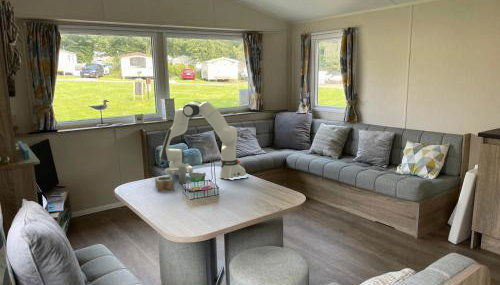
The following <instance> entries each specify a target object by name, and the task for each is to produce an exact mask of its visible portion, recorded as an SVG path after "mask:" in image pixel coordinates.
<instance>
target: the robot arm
mask: <svg viewBox="0 0 500 285" xmlns="http://www.w3.org/2000/svg"><path fill="white" fill-rule="evenodd" d="M199 115H201V116H202V117H204V119H205V120H206V121H207V122H208V124H209V125H210V126H211V127H212V128H213V130H214V131H215V133H216V135H217V136H218V138H219V140H220V142H221V149H220V150H221V152H220V155H221V156H220V172H219V176H220V177H221V178H233V177H239V176H244V175H246V174H247V173H246V169H245V168H244V167H243V166H242V165H240V164H241V160H239V159H237V140H238V130H237V128H236V127H235V126H233V125H229V123H228V122H227V121H226V119H225V117H224V115H222V113H220V112H219V110H218V109H217V108H216V107H215V106H214V105H213V104H212V103H211V102H209V101H203V102H202V103H201V102H200V101H198V100H195V101H190V102H187V103H186V104H184V106H183V107H182V108H178V109H177V110H176V111H175V115H174V118H173V124H172V125H171V127H170V128H168V130H167V131H166V134H165V137H164V140H163V143H162V147H161V149H160V151H159V158H160V160H161V161H162V162H169V163H168V164H169V165H168V166H169V167H166V168H165V169H164V170H163V171H164V172H165V174H166V175H168V176H169V175H178V176H179V166H185V167H186V174H189V173H190V171H191V173H194V167H193V166H192V165H189V163H184V162H185V153H184V151H183V149H181V148H180V149H179V148H169V147H170V143H171V140H172V139H174V138H175V137H177V136H181V135H184V134H185V133H186V132H187V130H188V127H189V120H190V118H194V117H198V116H199ZM221 178H220V179H221Z"/></svg>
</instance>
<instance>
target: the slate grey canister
mask: <svg viewBox="0 0 500 285" xmlns="http://www.w3.org/2000/svg"><path fill="white" fill-rule="evenodd" d="M183 183H186V184H187V173H186V167H185V166H179V174H178V184H180V185H184V184H183Z"/></svg>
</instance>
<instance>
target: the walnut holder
mask: <svg viewBox="0 0 500 285" xmlns="http://www.w3.org/2000/svg"><path fill="white" fill-rule="evenodd" d="M154 182H155V187H156V190H157V191H158V192H164V191H165V192H167V191H175V190H174V180H173V178H172V177H171V176H169V175H168V176H157V177H155V180H154Z"/></svg>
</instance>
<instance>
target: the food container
mask: <svg viewBox="0 0 500 285" xmlns="http://www.w3.org/2000/svg"><path fill="white" fill-rule="evenodd" d="M188 176H189V179H190V183H191V182H199V181H204V182H205V180H206V178H205V177H206V176H207V174H206V172H203V173H200V172H191V171H190V173H188Z"/></svg>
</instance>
